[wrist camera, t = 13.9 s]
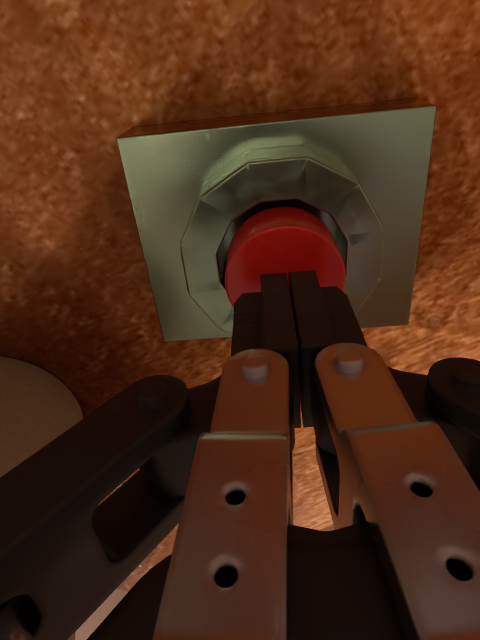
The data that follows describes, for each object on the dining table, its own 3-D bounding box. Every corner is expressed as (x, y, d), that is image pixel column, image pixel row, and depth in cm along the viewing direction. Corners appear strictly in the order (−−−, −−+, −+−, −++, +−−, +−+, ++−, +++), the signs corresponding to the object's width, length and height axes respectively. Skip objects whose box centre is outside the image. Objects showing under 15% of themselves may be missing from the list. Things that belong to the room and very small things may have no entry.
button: (232, 309, 15) (231, 337, 14) (221, 211, 14) (217, 231, 12) (335, 302, 15) (344, 329, 14) (337, 200, 13) (348, 220, 12)
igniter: (171, 314, 20) (155, 369, 17) (131, 126, 16) (99, 149, 12) (393, 298, 19) (423, 352, 16) (414, 97, 15) (462, 112, 12)
